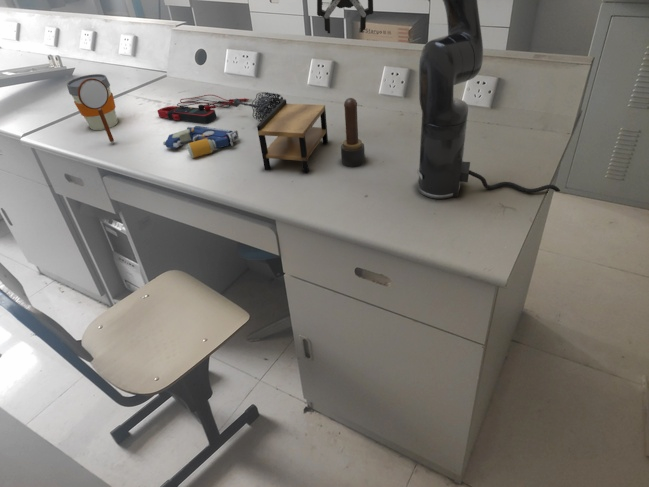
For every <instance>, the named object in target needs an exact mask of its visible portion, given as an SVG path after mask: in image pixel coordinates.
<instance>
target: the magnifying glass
mask: <svg viewBox="0 0 649 487" xmlns="http://www.w3.org/2000/svg"><path fill="white" fill-rule="evenodd" d="M108 96H109V95H108V90H107V87H106V86H105V85H104V83H102V82H101V81H100V80H98V79H94V78H90V79H86V80H84V81H83V82H82V83H81V84H80V86H79V88H78V97H79V100H80V101H81V103H82V104H83V105H84V106H85V107H87V108H89V109H98V112H99V115H100V117H101V120H102V122H103V125H104V127H105V129H104V130H105V132H106V135H107V137H108V140H109V142H110V143H111V144H112V145H114V144H115V139H114V137H113V134H112V131H111V128H109V126H108V124H107V121H106V119H105V116H104V113H103V111H102V109H101V108H102V107H103V106H104V105H105V104H106V103H107V101H108Z"/></svg>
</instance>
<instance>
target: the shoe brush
mask: <svg viewBox="0 0 649 487" xmlns="http://www.w3.org/2000/svg"><path fill="white" fill-rule="evenodd" d="M343 107H344V121H345V123H344V124H345V140H344V141H343V142H342V144H341V145H340V153H341V163H342V164H341V165H343V166H345V167H349V168H356V167H360V166H362V165H364V163H365V162H366V158H365V157H366V155H365V143H364V142H363V141H362V139H360V138H359V127H358V102H357V100H356V99H355V98H354V97H349V98H346V99H345V101H344V102H343Z"/></svg>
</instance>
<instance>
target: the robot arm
mask: <svg viewBox="0 0 649 487" xmlns="http://www.w3.org/2000/svg"><path fill="white" fill-rule="evenodd" d="M442 2H443V5H444V9H445V15H446V23H447V24H446V25H447V35H444V36H440V37H437V38H434V39H430V40H429V41H427V42H426V43H425V44H424V46H423V48H422V50H421V53H420V56H419V64H418V97H419V98H418V99H419V106H420V109H421V124H420V125H421V128H420V145H419V146H420V148H419V164H418V166H419V167H418V168H417V170H416V171H417V172H416V173H417V175H418V182H417V190H418V192H419V193H420V194H421V195H423V196H424V197H427V198H430V199H437V200H443V199H444V200H445V199H449V198H450V199H451V198H453V197H455V198H457V197H459V195H460V194H459V192H460V189H461V183H468V182H469V177H470V176H472V177H473V178H476V179H478V180H480V181H481V183H482V186H483V187H484V189H486V190H489V191H490V190H495V189H498V188H501V187H511V188H513V189H516V190H518V191H521V192H524V193H528V194H534V193H540V192H542V191H546V190H553V191H554V192H560V191H561V190H560V188H559V187H558V186H557V185H554V184H545V185H542V186H539V187H535V188H527V187H525V186H521V185H519V184H517V183H515V182H511V181H501V182H498V183H495V184H492V185H489V184H488V182H487V179H486V178H485V177H484V176H482V175H481V174H479V173H477V172H475V171H473V170H470V168H471V167H470V166H471V162H470V161H464V152H465V143H466V132H467V125H468V115H469V106H468V103H467V102H466V101H464V100H462V99H461V98H458V97H455V96H454V89H455V88H454V87H455V86H456V85H460V84H462V83H465V82H468V81H471V80H473V79H474V78H475V77H477V76H478V74H479V73H480V71H481V69H482V66H483V63H484V62H483V61H484V45H483V34H482V27H481V21H480V12H479V3H478V0H442ZM353 7H354V9H355V10H356V11H357V12H358V13H359V14H360V15H359V33H363V32H364V31H366V28H367V27H366V24H367V16H369V15H373V14H374V0H367V7H366V8H365V7H364V6H363V5H362V3H361V1H360V0H331V1H330V3H329V4H328V6H327V8H326V9H323V0H316V15H317V17H322V18H323V19H324V31H325V32H327V34H331V14H333V13H334V11H335V10H336V8H338V9H344V8H347V9H352V8H353ZM469 175H470V176H469Z"/></svg>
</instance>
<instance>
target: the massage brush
mask: <svg viewBox="0 0 649 487" xmlns="http://www.w3.org/2000/svg"><path fill="white" fill-rule="evenodd" d="M234 99H235V100H234V102H233V103H234V105H233V106H234V107H235V108H236V107H239V106H240V105H242V106H249V107H251V109H252V117H253V118H254V119H255V120H256V121H258V122H259V123H261V122H262V121H263V120H264V119H265V117H266V116H267V115H268V114H269V113H270V112H271V111H272V110H273V109H274V108H275V107H276V106H277V105H278V104H279V103H280V102H281V101H282V100H283V99H284V97H283V96H282V95H281V94H278V93H274V92H273V93H272V92H264V91H263V92H261V91H260V92H258V93H256V96H255V98H254V100H252V101H251V103H248V102H243V101H239V99H240V98H234ZM286 104H288V103H287V102H286Z"/></svg>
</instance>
